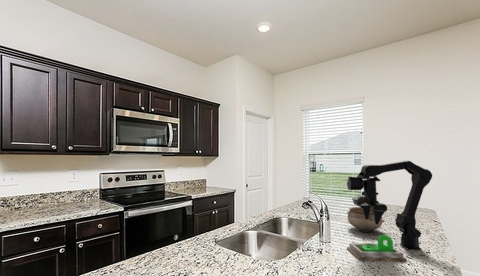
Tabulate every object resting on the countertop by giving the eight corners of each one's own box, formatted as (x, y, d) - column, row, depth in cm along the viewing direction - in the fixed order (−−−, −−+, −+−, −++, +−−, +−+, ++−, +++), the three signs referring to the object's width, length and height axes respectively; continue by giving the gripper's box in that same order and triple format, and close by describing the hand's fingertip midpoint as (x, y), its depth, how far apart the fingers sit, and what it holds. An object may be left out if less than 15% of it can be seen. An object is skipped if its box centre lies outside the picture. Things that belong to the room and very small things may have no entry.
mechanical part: (386, 249, 116) (385, 232, 116) (393, 254, 110) (392, 236, 110) (359, 249, 116) (359, 231, 117) (365, 254, 110) (364, 235, 111)
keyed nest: (389, 249, 118) (389, 243, 119) (406, 261, 105) (406, 253, 106) (346, 249, 119) (346, 242, 119) (358, 260, 106) (358, 253, 106)
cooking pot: (395, 234, 142) (394, 212, 143) (372, 238, 134) (371, 215, 135) (358, 223, 165) (358, 204, 166) (337, 226, 157) (336, 207, 158)
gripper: (345, 188, 134) (347, 217, 133) (363, 192, 116) (365, 227, 115) (366, 187, 135) (367, 217, 133) (387, 192, 116) (389, 226, 115)
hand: (371, 221), depth 124 cm, fingers open, 9 cm apart
